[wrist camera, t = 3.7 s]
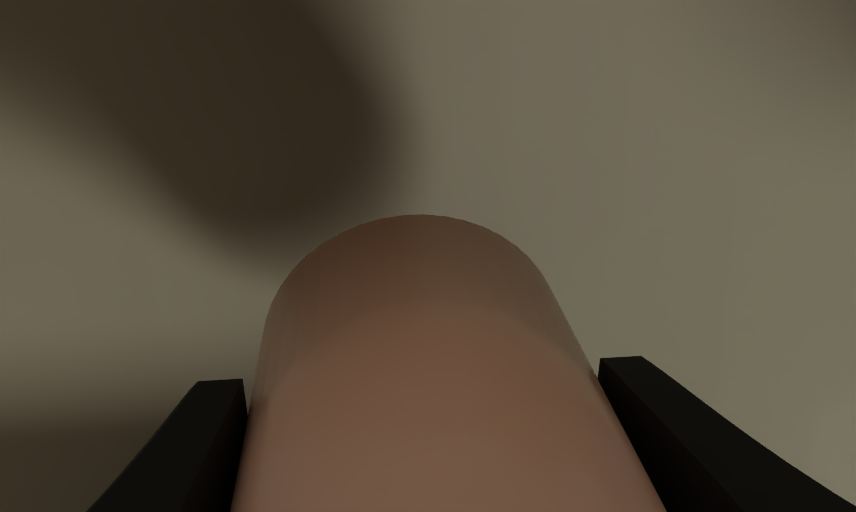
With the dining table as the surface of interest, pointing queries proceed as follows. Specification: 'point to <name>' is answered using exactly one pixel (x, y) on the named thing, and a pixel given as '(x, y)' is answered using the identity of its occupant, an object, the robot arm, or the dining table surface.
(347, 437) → the terracotta capsule
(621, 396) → the robot arm
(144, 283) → the dining table surface
